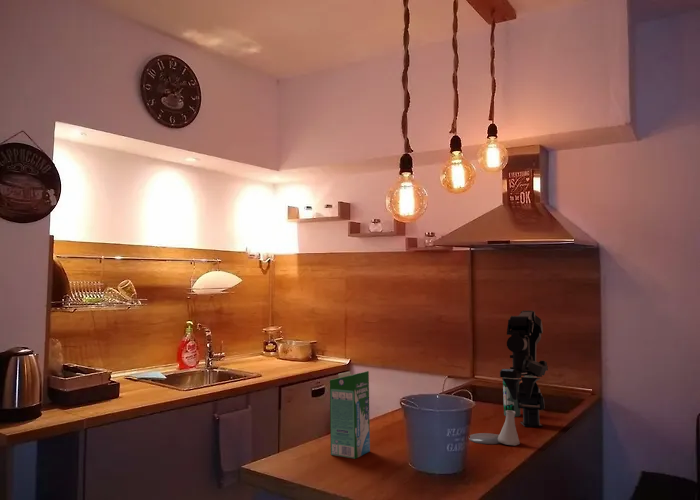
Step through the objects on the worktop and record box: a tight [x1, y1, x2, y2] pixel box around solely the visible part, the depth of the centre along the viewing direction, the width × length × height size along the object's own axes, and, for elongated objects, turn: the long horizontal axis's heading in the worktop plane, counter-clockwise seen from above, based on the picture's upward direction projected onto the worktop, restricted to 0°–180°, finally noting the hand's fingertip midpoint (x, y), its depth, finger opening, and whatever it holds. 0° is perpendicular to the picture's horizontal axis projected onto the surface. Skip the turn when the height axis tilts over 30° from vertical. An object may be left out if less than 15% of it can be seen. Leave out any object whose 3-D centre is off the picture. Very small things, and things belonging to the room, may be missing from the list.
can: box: [502, 377, 522, 418], centre depth 220 cm, size 6×6×15 cm
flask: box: [498, 410, 521, 446], centre depth 179 cm, size 7×7×10 cm
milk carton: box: [329, 370, 371, 460], centre depth 171 cm, size 9×9×25 cm
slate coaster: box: [468, 432, 502, 445], centre depth 184 cm, size 12×12×1 cm
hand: (521, 398), depth 187 cm, fingers open, 9 cm apart
